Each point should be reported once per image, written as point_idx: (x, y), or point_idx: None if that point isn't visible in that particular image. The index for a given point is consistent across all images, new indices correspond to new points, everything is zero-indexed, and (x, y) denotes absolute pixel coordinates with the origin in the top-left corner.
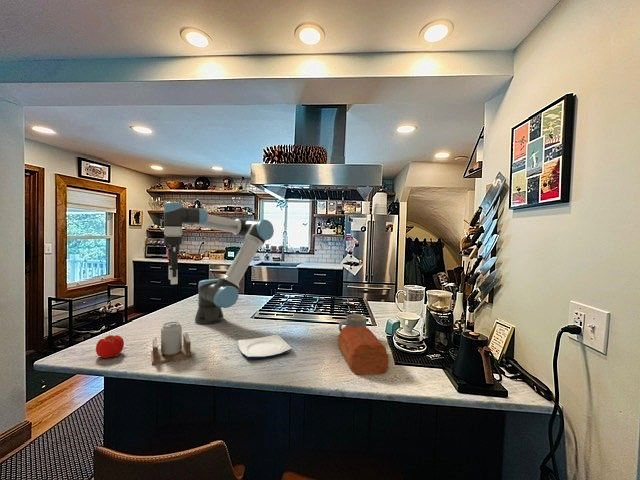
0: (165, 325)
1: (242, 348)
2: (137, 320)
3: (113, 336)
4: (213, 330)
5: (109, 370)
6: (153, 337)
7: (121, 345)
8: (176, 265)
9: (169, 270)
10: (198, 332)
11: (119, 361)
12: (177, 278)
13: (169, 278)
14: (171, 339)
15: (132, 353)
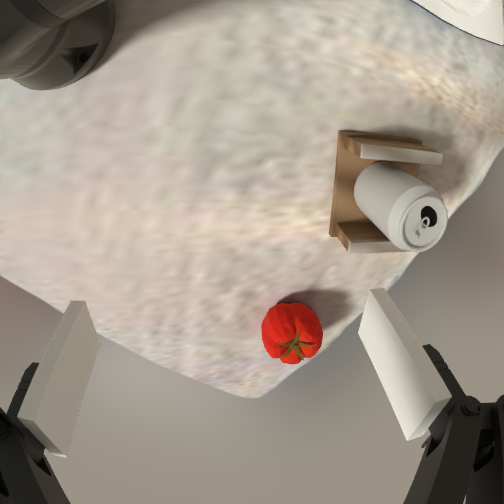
0: (414, 242)
1: (449, 16)
2: (7, 278)
3: (284, 345)
4: (200, 17)
5: None
6: (350, 251)
7: (307, 313)
8: (474, 441)
9: (75, 410)
10: (196, 73)
11: (337, 295)
12: (405, 323)
13: (95, 345)
14: (426, 209)
15: (301, 275)
